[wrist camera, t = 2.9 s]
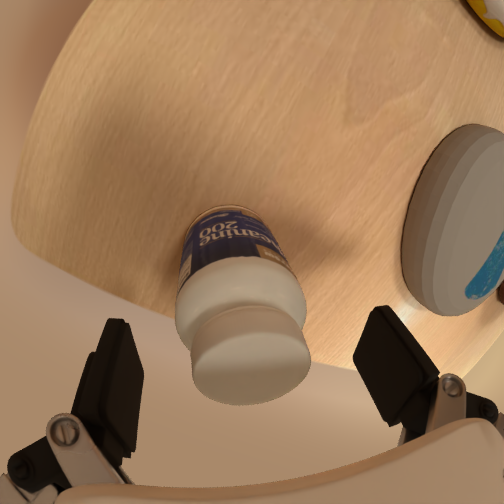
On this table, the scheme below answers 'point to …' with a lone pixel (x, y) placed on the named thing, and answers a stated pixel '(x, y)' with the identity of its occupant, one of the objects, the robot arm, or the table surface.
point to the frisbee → (457, 223)
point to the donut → (490, 13)
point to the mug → (502, 292)
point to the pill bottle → (240, 309)
